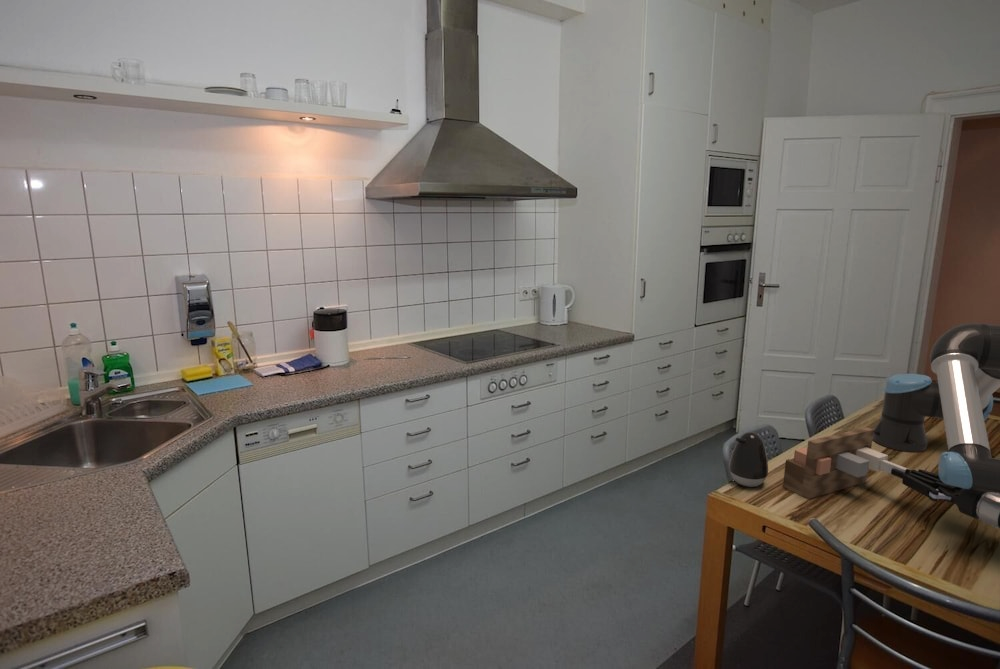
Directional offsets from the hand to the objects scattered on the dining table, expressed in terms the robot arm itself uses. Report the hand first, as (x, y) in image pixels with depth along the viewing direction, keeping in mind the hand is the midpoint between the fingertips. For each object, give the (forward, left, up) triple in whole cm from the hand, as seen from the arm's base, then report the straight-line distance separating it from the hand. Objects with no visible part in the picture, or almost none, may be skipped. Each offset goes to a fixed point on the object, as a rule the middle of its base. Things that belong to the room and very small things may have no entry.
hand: (882, 464), depth 153 cm
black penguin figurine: (+23, -24, -9) cm, 35 cm away
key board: (+6, -11, -9) cm, 15 cm away
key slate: (+7, -5, -2) cm, 9 cm away
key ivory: (-1, -4, -2) cm, 5 cm away
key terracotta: (+14, -12, -2) cm, 18 cm away
